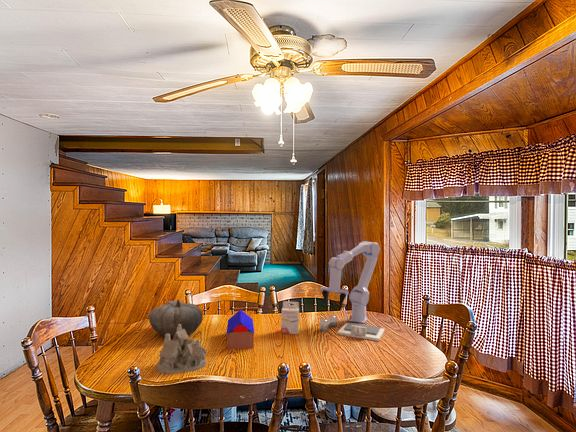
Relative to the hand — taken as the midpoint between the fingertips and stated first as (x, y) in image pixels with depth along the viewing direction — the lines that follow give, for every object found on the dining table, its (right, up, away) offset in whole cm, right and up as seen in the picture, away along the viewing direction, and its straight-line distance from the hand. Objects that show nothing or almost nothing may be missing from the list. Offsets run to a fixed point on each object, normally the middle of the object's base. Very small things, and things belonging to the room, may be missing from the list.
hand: (333, 306), depth 183 cm
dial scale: (+13, -11, -9) cm, 19 cm away
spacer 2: (0, -10, +1) cm, 10 cm away
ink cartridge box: (-23, -10, -10) cm, 27 cm away
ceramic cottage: (-65, -11, -48) cm, 81 cm away
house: (-46, -11, -21) cm, 51 cm away
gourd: (-78, -10, -13) cm, 80 cm away
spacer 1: (-5, -10, -6) cm, 13 cm away
